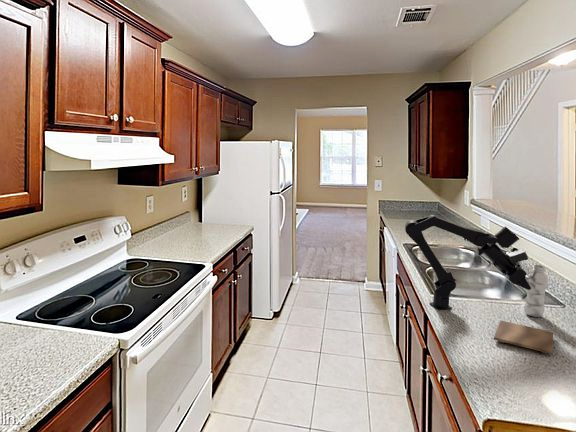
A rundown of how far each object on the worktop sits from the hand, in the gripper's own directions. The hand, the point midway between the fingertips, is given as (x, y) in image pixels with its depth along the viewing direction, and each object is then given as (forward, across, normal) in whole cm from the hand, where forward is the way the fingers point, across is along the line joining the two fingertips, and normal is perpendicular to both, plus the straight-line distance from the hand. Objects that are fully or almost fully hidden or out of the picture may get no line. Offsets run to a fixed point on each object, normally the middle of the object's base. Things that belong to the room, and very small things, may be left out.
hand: (525, 285), depth 147 cm
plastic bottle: (+11, 0, +6) cm, 13 cm away
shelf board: (+4, -23, +13) cm, 27 cm away
